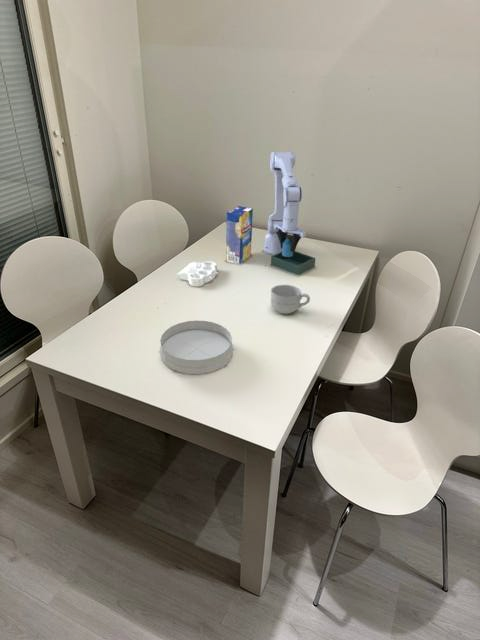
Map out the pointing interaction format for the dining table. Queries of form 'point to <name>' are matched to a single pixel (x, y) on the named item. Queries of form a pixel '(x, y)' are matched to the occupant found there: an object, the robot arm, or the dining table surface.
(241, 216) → the beverage box
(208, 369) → the dish
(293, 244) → the robot arm
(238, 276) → the dining table surface
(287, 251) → the bottle
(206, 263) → the white scalloped tray
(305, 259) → the bin
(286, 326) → the dining table surface
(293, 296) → the teacup
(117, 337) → the dining table surface
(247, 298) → the dining table surface
